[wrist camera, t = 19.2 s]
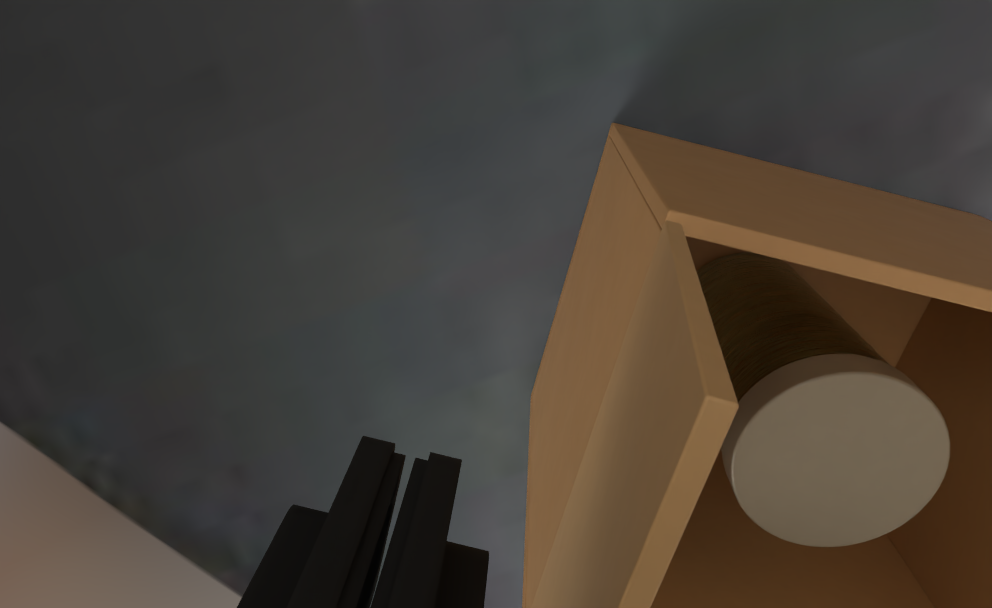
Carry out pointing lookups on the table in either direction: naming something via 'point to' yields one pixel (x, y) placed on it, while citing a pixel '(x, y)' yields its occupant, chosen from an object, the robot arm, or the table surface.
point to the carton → (852, 294)
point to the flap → (645, 445)
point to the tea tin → (816, 412)
